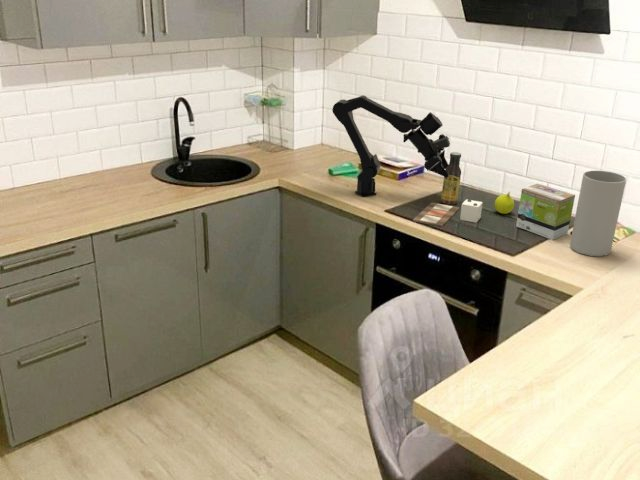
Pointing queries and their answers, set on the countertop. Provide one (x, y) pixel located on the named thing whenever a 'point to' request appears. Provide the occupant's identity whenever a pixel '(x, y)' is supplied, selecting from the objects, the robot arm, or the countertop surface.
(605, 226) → the cylinder vase
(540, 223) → the tea box
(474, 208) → the die
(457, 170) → the sauce bottle
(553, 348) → the countertop surface
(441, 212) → the walnut board
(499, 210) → the yellow-green round fruit
